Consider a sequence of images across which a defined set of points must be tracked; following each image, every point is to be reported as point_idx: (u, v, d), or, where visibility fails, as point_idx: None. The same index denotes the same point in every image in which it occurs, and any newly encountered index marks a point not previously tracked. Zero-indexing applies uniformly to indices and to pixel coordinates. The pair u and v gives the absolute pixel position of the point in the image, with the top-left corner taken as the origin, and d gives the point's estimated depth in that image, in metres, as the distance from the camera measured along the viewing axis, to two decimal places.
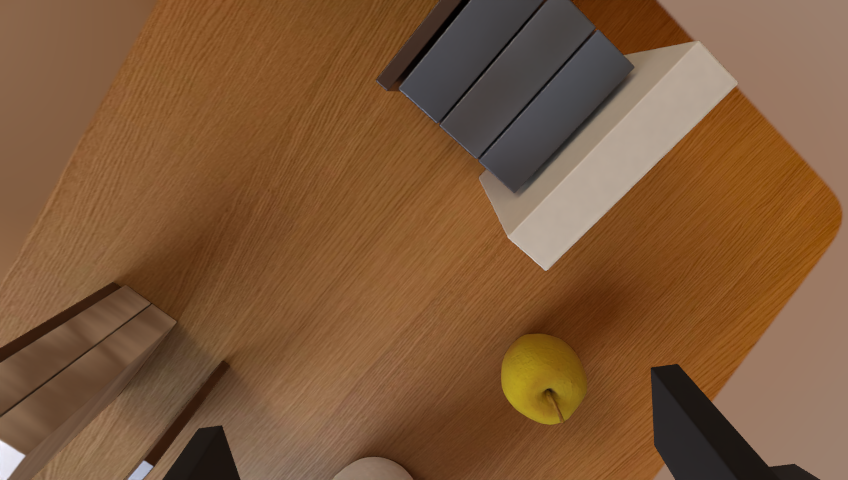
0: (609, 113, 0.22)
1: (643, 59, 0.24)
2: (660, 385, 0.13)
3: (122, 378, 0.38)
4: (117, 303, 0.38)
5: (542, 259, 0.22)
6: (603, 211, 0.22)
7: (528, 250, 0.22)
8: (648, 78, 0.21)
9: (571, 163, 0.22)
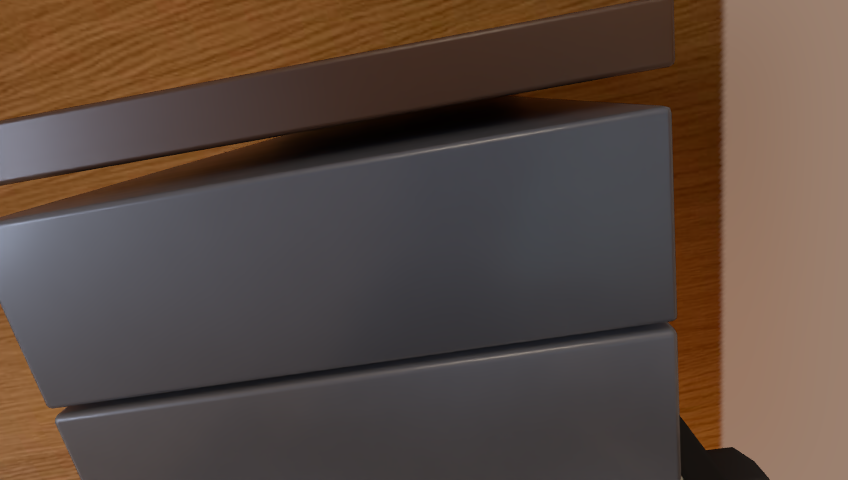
0: None
1: None
2: None
3: None
4: None
5: None
6: None
7: None
8: None
9: None
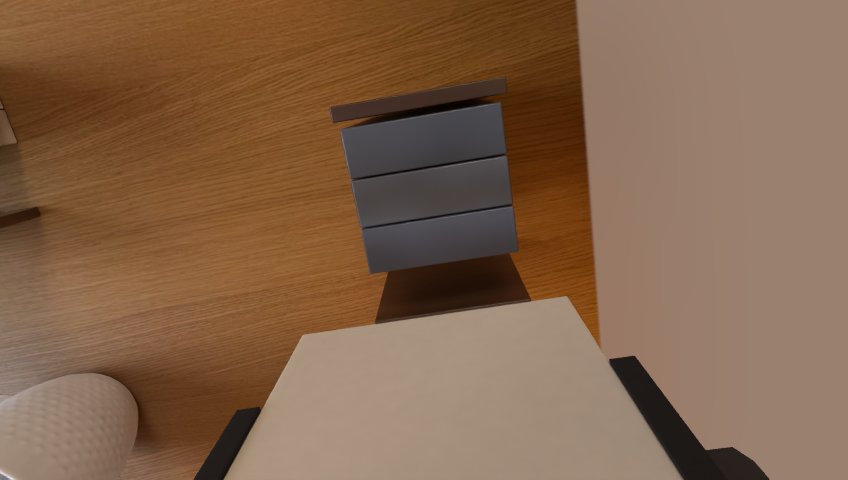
0: None
1: None
2: None
3: None
4: None
5: None
6: None
7: None
8: None
9: None
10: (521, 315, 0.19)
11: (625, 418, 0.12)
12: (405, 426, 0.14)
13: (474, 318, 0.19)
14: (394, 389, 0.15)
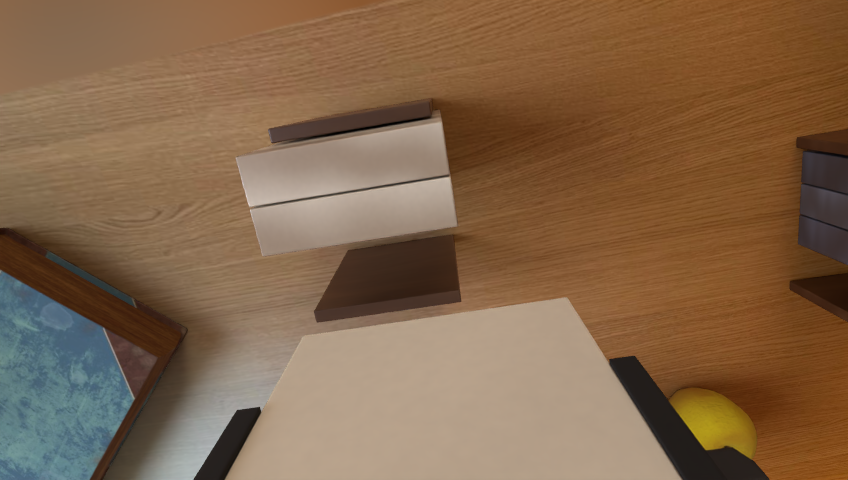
0: None
1: None
2: (617, 376, 0.14)
3: None
4: None
5: None
6: None
7: None
8: None
9: None
10: (521, 316, 0.19)
11: (625, 420, 0.12)
12: (405, 427, 0.14)
13: (474, 319, 0.19)
14: (394, 391, 0.15)
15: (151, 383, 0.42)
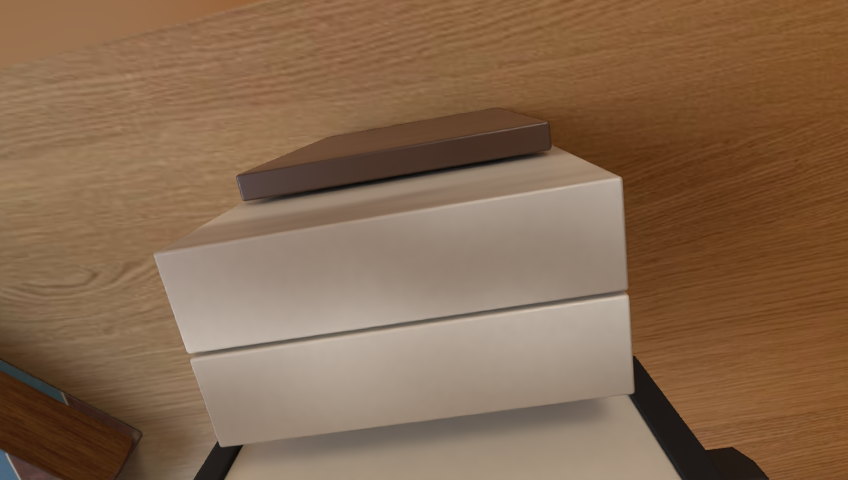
0: None
1: None
2: None
3: None
4: None
5: None
6: None
7: None
8: None
9: None
10: None
11: (625, 420, 0.12)
12: (404, 428, 0.14)
13: None
14: None
15: None
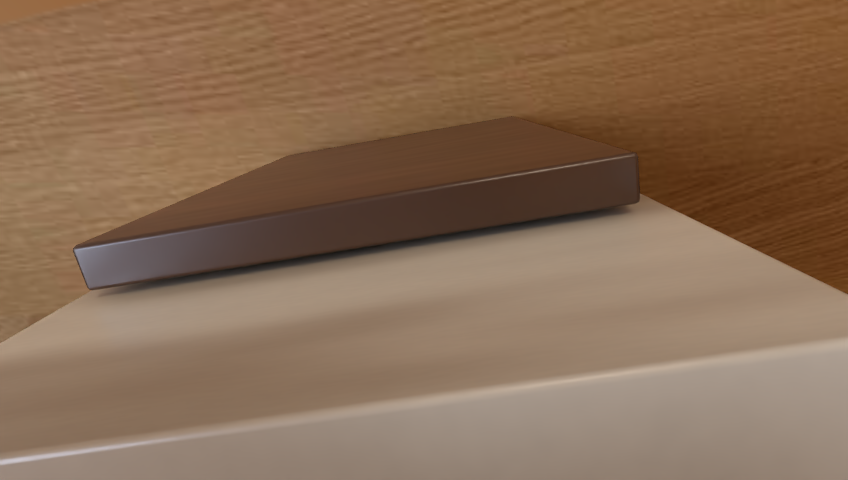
0: None
1: None
2: None
3: None
4: None
5: None
6: None
7: None
8: None
9: None
10: None
11: None
12: None
13: None
14: None
15: None
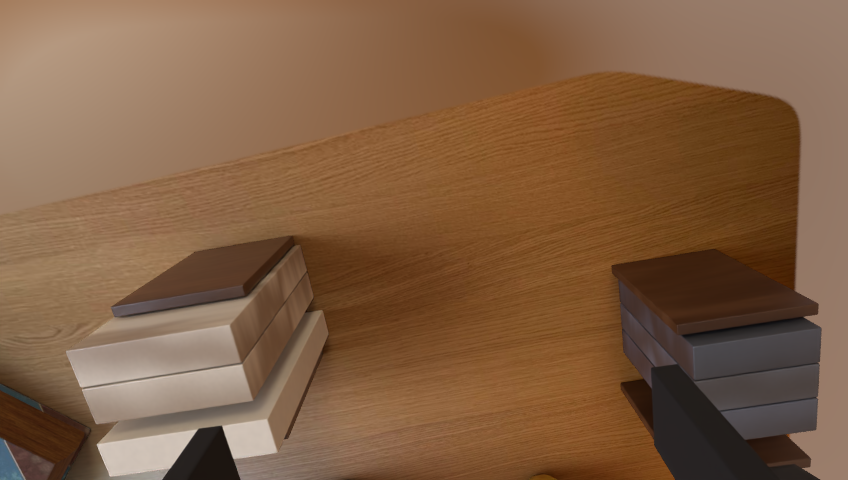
0: (218, 408, 0.32)
1: (278, 381, 0.34)
2: (660, 385, 0.13)
3: None
4: (295, 263, 0.41)
5: (111, 469, 0.31)
6: (164, 467, 0.31)
7: (104, 459, 0.31)
8: (245, 409, 0.31)
9: (169, 426, 0.31)
10: None
11: (295, 351, 0.38)
12: None
13: None
14: None
15: None
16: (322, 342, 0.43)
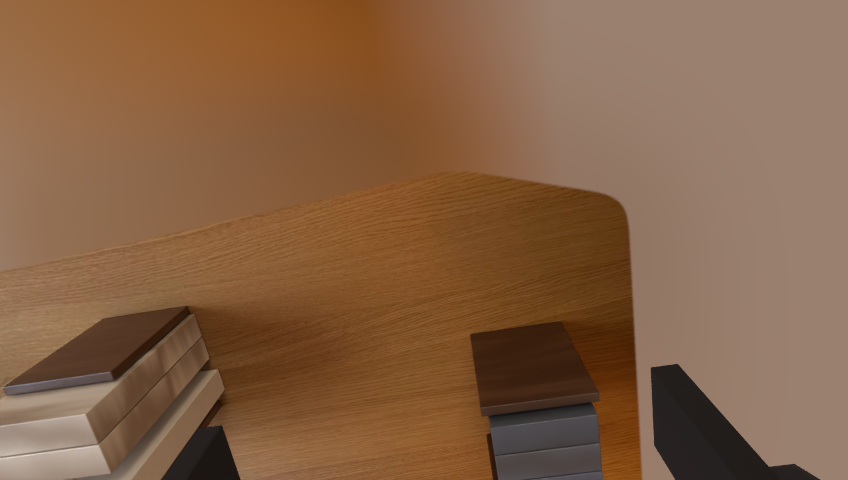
0: None
1: (148, 448, 0.40)
2: (660, 385, 0.13)
3: None
4: (185, 333, 0.47)
5: None
6: None
7: None
8: (111, 476, 0.37)
9: None
10: (194, 377, 0.50)
11: (176, 415, 0.44)
12: None
13: None
14: None
15: None
16: (214, 399, 0.49)
